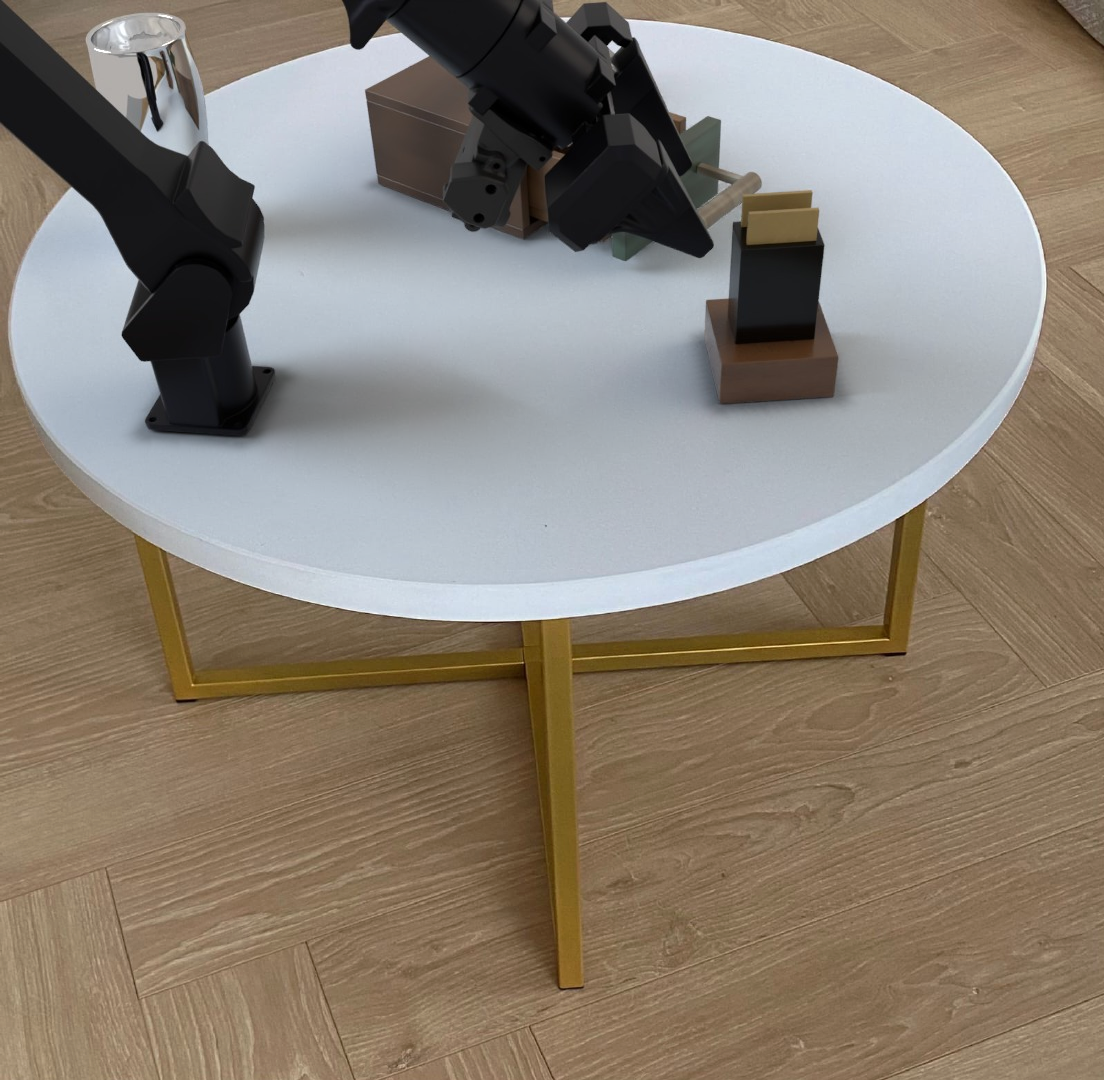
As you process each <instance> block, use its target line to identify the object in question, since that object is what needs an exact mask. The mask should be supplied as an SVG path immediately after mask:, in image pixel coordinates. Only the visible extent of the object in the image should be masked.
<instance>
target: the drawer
mask: <svg viewBox="0 0 1104 1080" xmlns="http://www.w3.org/2000/svg"><path fill="white" fill-rule="evenodd" d="M669 113H670V115H671V117H672V119H673V122H674V124H675V126H676V128H677V130H678V132H679V135H680V137H681V139H682V141H683V143H684V145H685V147H686V150H687V152H688V154H689V156H690V158H691V161H692V167H691V168H690V169H689V170H688V171H687V172H686V173H685V174H684V175H683V176H679V177H680V179H681V181H682V183H683V185H684V187H685V189H686V191H687V192H688V194H689V196H690V198H691V200H692V202H693V204H694V206H695V207H696V209H697V211H698V213H699V215H700V217H701V219H702V221H703V223H704V225H705V227H706V228H707V230H708V229H709V228H711V227H712V226H713V225H715V224H716V223H717V222H718V221H720V220H722V218H724V217H726V216H727V215H728V214H729V213H730V212H732V211H734V209H736V208H737V207H738V206H740V205H742V196H743V194H756V193H757V192H758V191H759V190H761V189H762V185H763V181H762V178H761V176H760V175H759V174H757V173H756V172H755V171H749V172H747V173H745V174H744V175H741V174H738V173H734V172H733V171H729V170H726V169H723V168H720V157H721V156H720V155H721V133H722V119H720V118H717V117H712V116H710V115H707V116H705V117H703V118H702V119H701V120H699V121H698V122H696V123H695V124H693V125H691V126H690V127H689V128H687V117H686V116H683V115H680V114H677V113H674V112H671V111H669ZM572 147H573V143H572V144H571V145H570V146H567V147H565V148H564V149H561V148H560V147H557V148H556V149H555V150H554V151H553V152H552V153H553V156H552V157H551V158H550V159H549V160H548V162H547V163H546V164H545V165H544V166H543V167H542V168H541V169H540V170H539V171H536V170H535V169H534V168H533V167H532V166H530V165H529V164H527V167H526V171H527V188H528V205H529V216H532V217H535V218H538V219H540V220H543V221H546V222H548V218H547V207H546V195H545V177H544V176H545V175H546V174H547V173H548V172H549V170H550V169H551V168H552V167H553V166H554V165H555V164H556V163H557V162H558V161H559V160H560V159H561V158H562V157H563V156H564V155H565V154H566V153H567V152H568V151H569V150H570V149H571V148H572ZM719 181H720V182H723V183H726V184H729V186H728V187H726V188H725V189H724V190H722V191H721V192H720V193H719ZM610 238H611V256H612V258H616V259H618V260H620V261H623V262H627V261H629V260H630V259H631V258H633V257H634V256H635V255H637V254H638V253H640V252H642V251H643V250H644V249H645V248H647V247H648V246H649V245H650V244H652V243H654V241H651V240H648V239H645V238H642V237H639V236H636V235H632V234H628V233H625V232H619V233H614V234H610V235H606V236H605V237H604V238H603V239H602V240H601V241H600V242H599V243H605V242H606V241H608V240H609V239H610Z"/></svg>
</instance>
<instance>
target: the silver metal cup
mask: <svg viewBox="0 0 1104 1080" xmlns="http://www.w3.org/2000/svg"><path fill="white" fill-rule="evenodd" d="M186 27H187V26H186V24H185V22H184V20H182V19H181V18H180V17H178V16H175V15H172V14H168V13H162V12H137V13H132V14H131V13H130V14H126V15H121V16H117V17H114V18H111V19H109V20H106V21H104V22H100V23H99V24H97V25H95V26H94V27H93V28H92V29H90V30H89V32H87V34H86V36H85V43H86V47H87V51H88V57H89V62H90V67H91V72H92V77H93V81H94V87H95V89H96V90H97V91H98V92H99V93H100V94H101V95H103V96H104V97H105V98H106V99H107V100H108V101H109V102H110V103H111V104H112V105H113V106H114V107H115V108H116V109H117V110H118V111H119V112H121V113H122V114H123V115H124V116H125V117H126V118H127V119H128V120H129V121H130V122H131V123H132V124H133V125H134V126H135V127H136V128H137V129H138V130H140V131H141V132H142V133H143V134H144V135H145V136H146V137H147V138H148V139H150V140H151V141H152V142H154V143H155V144H157V145H159V146H162V147H165V148H167V149H170V150H173V151H176V152H178V153H181V154H184V155H187V156H188V155H189V154H190V153H191V151H192V150H193V149H194V148H195V146H196V145H197V144H198V142H200V141H204V142H206V143H207V144H208V145H209V128H208V126H209V125H208V115H207V104H206V97H205V93H204V88H203V83H202V79H201V76H200V75H201V74H200V71H199V67H198V64H197V61H196V58H195V54H194V50H193V47H192V45H191V42H190V38H189V36H188V31H187V28H186Z"/></svg>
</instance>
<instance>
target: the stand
mask: <svg viewBox="0 0 1104 1080" xmlns="http://www.w3.org/2000/svg"><path fill="white" fill-rule="evenodd" d="M728 300H729V297H728V298H715V299H713V298H712V299H706V300H705V312H704V313H705V314H704V315H705V316H704V334H703V335H704V337H703V339H704V343H705V347H706V351H707V356H708V360H709V365H710V370H711V373H712V377H713V381H714V386H715V390H716V394H717V395H716V396H717V398H718V399H717V400H718V403H719V404H720V405H726V404H738V403H739V404H740V403H742V404H743V403H754V402H757V403H758V402H770V401H771V402H772V401H787V400H800V399H801V400H802V399H803V400H804V399H816V398H817V399H819V398H832V397H833V398H834V396H835V390H836V382H837V374H838V366H839V354H838V351H837V348H836V345H835V342H834V339H833V337H832V334H831V331H830V329H829V325H828V323H827V320H826V317H825V314H824V311H823V309H822V306H821V303H820V300H819V301H818V311H817V320H816V329H815V338H814V339H809V340H793V341H777V342H762V343H746V344H735V341H734V337H733V333H732V329H731V325H730V322H729V318H728Z"/></svg>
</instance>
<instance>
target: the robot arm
mask: <svg viewBox="0 0 1104 1080" xmlns="http://www.w3.org/2000/svg"><path fill="white" fill-rule="evenodd" d="M341 2H342V3H343V6H344V9H345V13H346V15H347V20H348V27H349V44H350V46H351V48H352V49H354V50H358V51H360V50H362V49H364V48H365V47H366V46H367V45H368V43H369V42H370V41H371V39H372V38H373V37H374V36H375V35H376V33H377V32H378V31H379V30H380V29H381V27H382V26H383V25H384V24H385V22H387V23H389V24H390V25H391V26H392V27H393V28H394V29H396V30H397V31H398V32H399V33H400V34H402V35H403V36H404V37H406V38H407V39H408V40H409V41H410V42H412V43H413V44H414V45H415V46H417V47H418V48H419V49H420V50H421V51H422V52H424V53H425V54H427V55H428V57H429V56H430V57H431V58H433V59H434V60H435V61H436V62H437V63H439V64H440V65H441V66H442V67H444V68H445V69H446V70H447V71H448V72H450V73H451V74H452V75H453V76H454V77H456V78H457V79H458V80H459V81H460V82H462V83H463V84H464V85H465V86H467V87H468V104H469V110H470V112H471V113H472V114H473V116H472V119H471V121H470V124H469V126H468V129H467V131H466V134H465V137H464V139H463V142H462V144H461V147H460V149H459V152H458V155H457V157H456V160H455V162H454V164H452V166H451V168H450V180H449V183H445V184H444V186H443V202H444V203H445V204H446V205H447V206H448V207H449V210H450V211H449V212H451V211H452V212H451V218H453V219H455V220H458V221H460V222H462V223H463V225H464V228H465V229H466V230H467V231H468V232H471V233H476V232H478V231H480V230H481V229H483V230H486V229H490V228H492V226H497V227H500V228H504V227H505V225H506V224H507V222H508V219H509V217H510V215H511V211H510V209H509V208H510V206H511V203H512V201H513V199H514V196H515V194H516V192H517V189H518V187H519V185H520V182H521V180H522V178H523V175H524V173H525V170H526V167H527V164H529V165H530V166H532V167H533V168H534V169H535V170H536V171H539V170H540V169H541V168H542V167H543V166H544V165H545V164H546V163H547V162H548V160H549V159H550V158H551V157H552V156H553V153H552V152H553V151H554V150H555V149H556V148H557V147H560V148H561V149H564V148H565V147H567V146H570V145H571V144H572V143H573V147H572V148H571V149H570V150H569V151H568V152H567V153H566V154H565V155H564V156H563V157H562V158H561V159H560V160H559V161H558V162H557V163H556V164H555V165H554V166H553V167H552V168H551V169H550V170H549V172H548V173H547V174H546V175H545V176H544V177H545V195H546V207H547V218H548V224H547V226H548V227H547V228H548V232H549V233H550V234H552V235H553V236H554V237H556V239H558V240H559V241H560V242H562V243H563V244H564V245H565V246H567V247H568V248H569V249H571V250H572V251H573V252H574V253H577V252H578V253H579V252H583V251H585V250H586V249H587V248H588V247H589V246H591V245H597V244H598V243H601V242H600V241H601V240H602V239H603V238H604V237H605V236H606V235H610V234H614V233H619V232H625V233H628V234H632V235H636V236H639V237H642V238H645V239H648V240H651V241H653V243H656V244H659V245H661V246H665V247H667V248H671V249H673V250H675V251H678V252H679V253H680V252H681V253H684V254H686V255H689V256H691V257H694V258H697V259H702V258H704V257H705V256H706V255H707V254H709V253H710V252H711V251H712V250H713V249H714V247H715V244H714V240H713V239H712V237H711V235H710V233H709V230H708V229H707V228H706V227H705V225H704V223H703V221H702V219H701V217H700V215H699V213H698V211H697V210H698V209H696V207H695V206H694V204H693V202H692V200H691V198H690V196H689V194H688V192H687V191H686V189H685V187H684V185H683V183H682V181H681V179H680V177H679V176H683V175H684V174H685V173H686V172H687V171H688V170H689V169H690V168H691V167H692V161H691V158H690V156H689V154H688V152H687V150H686V147H685V145H684V143H683V141H682V139H681V137H680V135H679V132H678V130H677V128H676V126H675V124H674V122H673V119H672V117H671V115H670V113H669V112H670V111H669V109H668V106H667V104H666V101H665V100H664V97H663V96H662V93H661V91H660V89H659V87H658V85H657V83H656V80H655V78H654V75H653V73H652V71H651V69H650V67H649V64H648V63H647V59H646V57H645V56H644V53H643V51H642V49H641V46H640V42H639V41H638V40H637V38H636V37H635V36H632V31H631V27H630V22H629V21H628V20H626V19H625V17H623V16H622V15H621V14H620V13H619V12H618V11H617V10H616V9H614V8H613V7H612V6H611V4H609V3H608V2H607V1H599V2H585V3H582V4H581V6H580V7H579V8H578V9H577V10H576V11H575V13H573V14H572V16H570V18H569V19H568V20H567V21H565V20H564V19H562V17H560V16H559V15H558V14H557V13H555V10H554V4H553V3H554V2H553V0H341ZM611 42H613V43H614V44H615V45H616V46H618V47H620V48H619V49H618V50H617V51H616V52H614V51H613V50H611V49H610V48H609V45H610V43H611ZM0 125H1V126H2V127H3V128H4V129H5V130H7V131H8V132H9V133H10V134H11V135H12V136H13V137H14V138H16V139H17V140H18V141H19V142H20V143H21V144H22V145H23V146H25V147H26V148H27V149H28V150H29V152H31V153H32V154H34V155H35V156H36V157H37V158H38V159H39V160H40V161H42V163H44V164H45V165H46V166H47V167H48V168H49V169H51V170H52V171H53V172H54V173H55V174H56V175H57V176H59V178H61V179H62V180H63V181H64V182H65V183H67V184H68V186H70V187H71V188H72V189H73V190H74V191H76V192H77V193H78V194H79V195H80V196H81V197H82V198H84V200H86V201H87V202H88V203H89V204H90V205H91V206H92V207H93V208H94V210H96V212H97V213H98V214H99V216H100V218H101V219H102V221H103V223H104V225H105V227H106V229H107V231H108V233H109V235H110V236H111V238H112V239H113V243H114V244H115V247H116V248H117V251H118V252H119V254H120V256H121V258H122V260H123V262H124V263H125V265H126V267H127V268H128V269H129V270H130V272H131V274H133V275H134V276H135V278H136V279H137V283H136V286H135V290H134V293H133V295H132V299H131V303H130V305H129V309H128V312H127V314H126V318H125V321H124V324H123V327H122V331H121V339H123V340H124V342H125V343H126V344H127V346H128V347H129V349H130V350H131V351H132V353H133V354H134V355H135V357H137V359H138V360H139V362H143V363H144V362H146V363H147V362H150V364H151V368H152V371H153V375H154V377H155V382H156V385H157V388H158V391H159V395H158V397H157V399H156V400H155V402H154V404H153V405H152V407H151V409H150V410H149V412H148V414H147V415H146V416H145V419H144V424H145V426H146V427H145V428H147V429H148V430H149V431H150V430H151V431H162V432H163V431H164V432H178V433H194V434H208V435H223V436H224V435H226V436H244V435H246V434H248V432H249V431H250V430H251V427H252V425H253V423H254V421H255V419H256V418H257V415H258V413H259V411H260V409H261V407H262V405H263V403H264V402H265V399H266V397H267V396H268V393H269V391H270V390H271V387H272V385H273V383H274V381H275V379H276V378H277V375H276V374H277V373H276V370H275V368H274V367H271V366H262V365H261V366H260V365H259V366H258V365H253V363H252V360H251V355H250V352H249V347H248V343H247V342H248V341H247V339H246V334H245V330H244V326H243V325H244V324H243V322H242V317H241V313H242V312H244V310H245V309H246V308H247V307H248V306H249V305H250V304H251V301H252V297H253V295H254V292H255V289H256V282H257V278H258V273H259V268H260V262H261V257H262V252H263V248H264V243H265V238H266V237H265V216H264V214H263V211H262V209H261V208H260V206H259V205H258V203H257V202H256V201H255V199H254V198H253V197H254V193H255V188H256V186H255V184H253V183H251V182H250V181H247V180H245V179H243V178H241V177H239V176H238V175H237V174H236V173H234V172H233V171H232V170H231V169H229V167H228V166H227V165H226V164H225V162H224V161H223V160H222V159H221V157H220V155H219V154H218V153H217V152H216V151H215V149H213V147H212V146H211V145H210V144H209V143H208V144H207V143H206V142H204V141H200V142H198V144H197V145H196V146H195V148H194V149H193V150H192V151H191V153H190V154H189V155H188V156H187V155H184V154H181V153H178V152H176V151H173V150H170V149H167V148H165V147H162V146H159V145H157V144H155V143H154V142H152V141H151V140H150V139H148V138H147V137H146V136H145V135H144V134H143V133H142V132H141V131H140V130H138V129H137V128H136V127H135V126H134V125H133V124H132V123H131V122H130V121H129V120H128V119H127V118H126V117H125V116H124V115H123V114H122V113H121V112H119V111H118V110H117V109H116V108H115V107H114V106H113V105H112V104H111V103H110V102H109V101H108V100H107V99H106V98H105V97H104V96H103V95H101V94H100V93H99V92H98V91H97V90H96V87H95V86H93V85H92V84H91V82H89V81H88V80H87V79H86V78H85V77H84V76H83V75H82V74H80V73H79V71H77V70H76V68H74V67H73V66H72V65H71V64H70V63H69V62H68V61H67V60H66V59H65V58H64V57H63V56H61V54H59V52H57V51H56V50H55V49H54V47H52V46H51V45H50V44H49V43H48V42H47V41H45V39H44V38H42V37H41V36H40V35H39V34H38V33H37V32H36V31H35V30H34V29H33V28H32V27H31V26H30V25H29V24H28V23H27V22H26V21H24V20H23V18H21V17H20V16H19V15H18V14H17V13H16V12H15V11H14V10H13V9H12V8H11V7H10V6H9V5H8V4H6V3H5V1H3V0H0Z"/></svg>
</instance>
